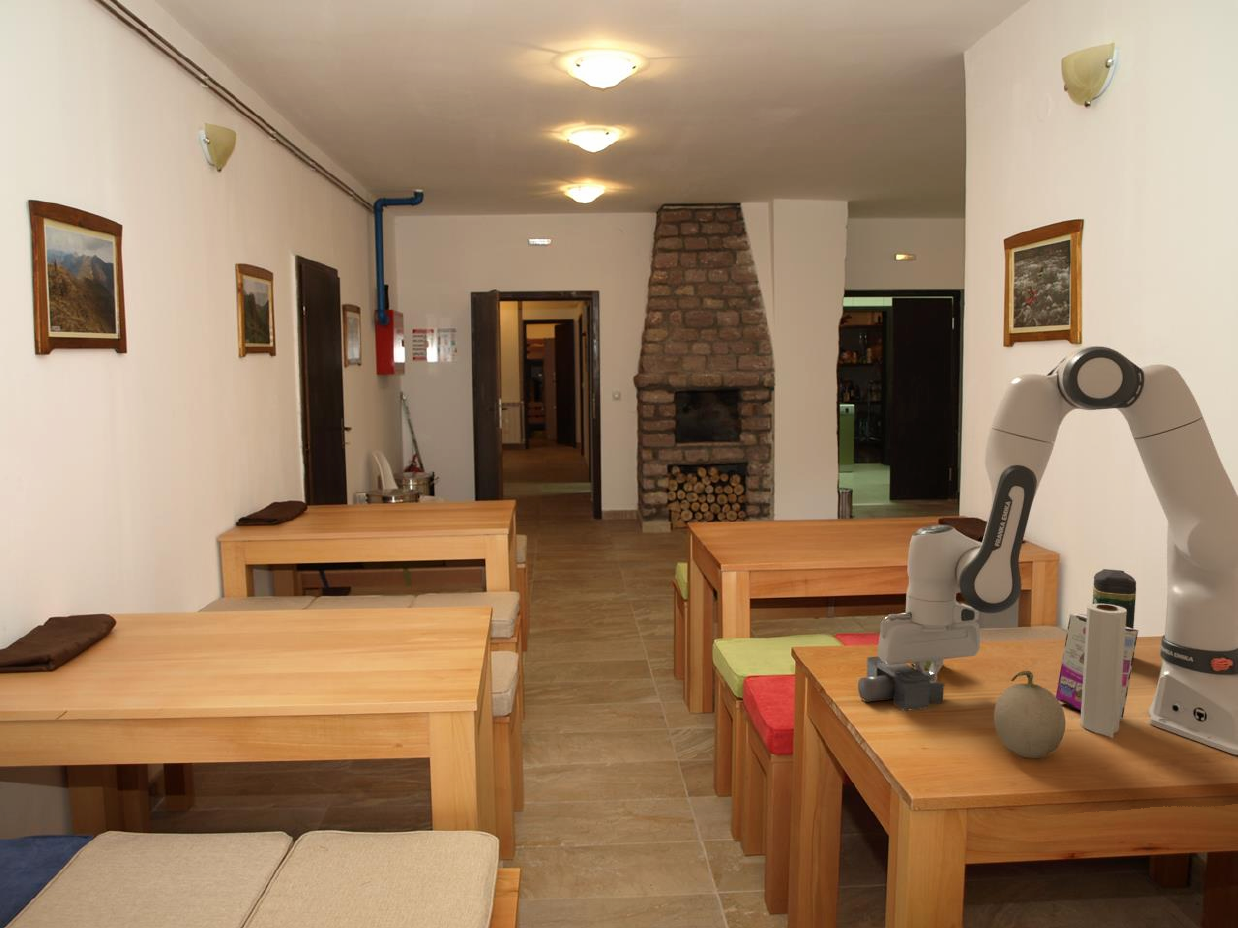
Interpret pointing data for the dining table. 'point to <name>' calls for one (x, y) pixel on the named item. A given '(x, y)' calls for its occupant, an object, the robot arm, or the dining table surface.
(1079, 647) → the candy bar box
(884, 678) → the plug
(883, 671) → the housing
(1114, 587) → the coffee jar
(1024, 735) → the fruit
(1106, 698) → the paper towel roll
